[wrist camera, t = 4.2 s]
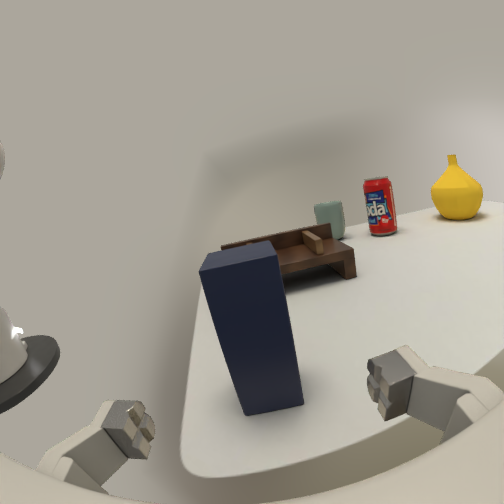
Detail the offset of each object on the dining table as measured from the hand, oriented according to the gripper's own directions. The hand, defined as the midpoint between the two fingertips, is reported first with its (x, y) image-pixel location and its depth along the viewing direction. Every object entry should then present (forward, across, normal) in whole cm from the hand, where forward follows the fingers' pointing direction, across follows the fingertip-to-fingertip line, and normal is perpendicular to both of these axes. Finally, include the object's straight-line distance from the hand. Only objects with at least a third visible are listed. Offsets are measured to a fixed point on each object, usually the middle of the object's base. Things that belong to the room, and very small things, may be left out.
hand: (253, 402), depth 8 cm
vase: (+56, -65, +11) cm, 86 cm away
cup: (+64, -23, +11) cm, 69 cm away
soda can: (+58, -36, +11) cm, 69 cm away
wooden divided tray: (+40, -6, +10) cm, 42 cm away
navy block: (+12, 0, +10) cm, 16 cm away
